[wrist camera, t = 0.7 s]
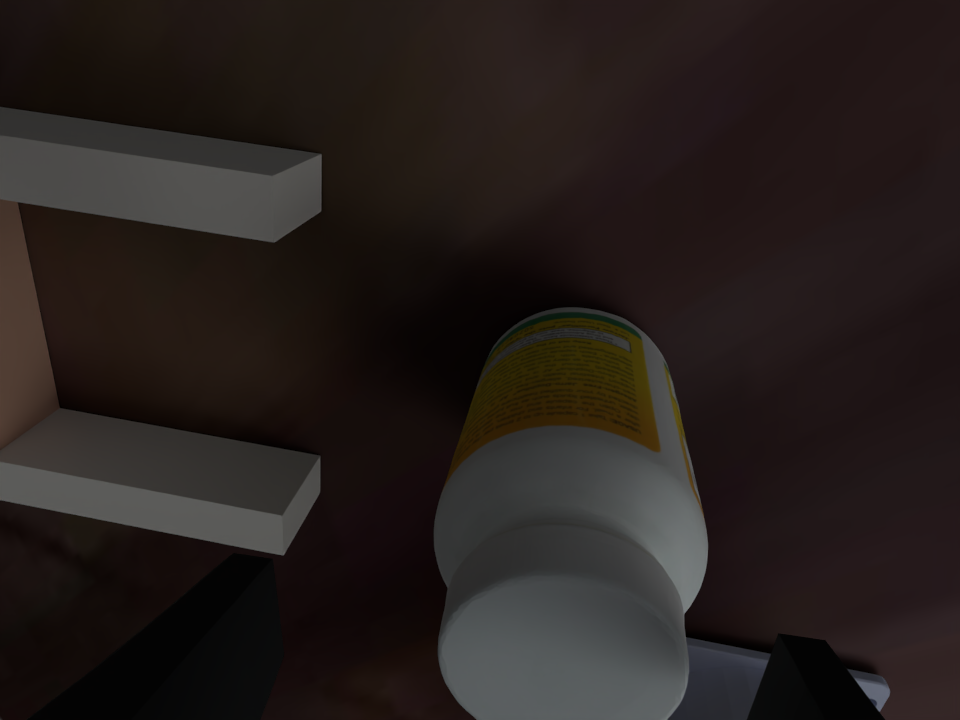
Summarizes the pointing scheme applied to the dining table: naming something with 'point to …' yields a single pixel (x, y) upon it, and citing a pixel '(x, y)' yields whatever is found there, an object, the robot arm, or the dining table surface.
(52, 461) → the frame
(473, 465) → the supplement bottle
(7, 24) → the dining table surface
